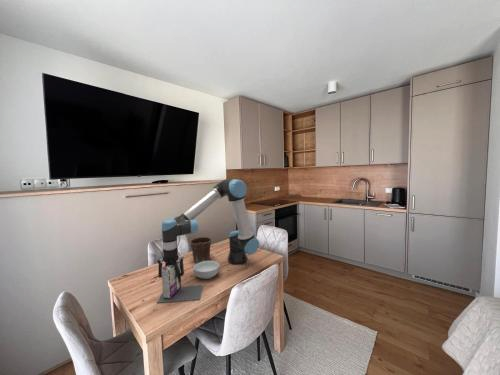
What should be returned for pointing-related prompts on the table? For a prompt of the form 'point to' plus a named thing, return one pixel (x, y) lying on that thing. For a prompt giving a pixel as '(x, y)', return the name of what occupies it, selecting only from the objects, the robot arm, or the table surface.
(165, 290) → the candy bar box
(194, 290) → the mat
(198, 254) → the plant pot
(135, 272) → the table surface
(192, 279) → the table surface
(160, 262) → the robot arm
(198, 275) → the cereal bowl
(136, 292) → the table surface
